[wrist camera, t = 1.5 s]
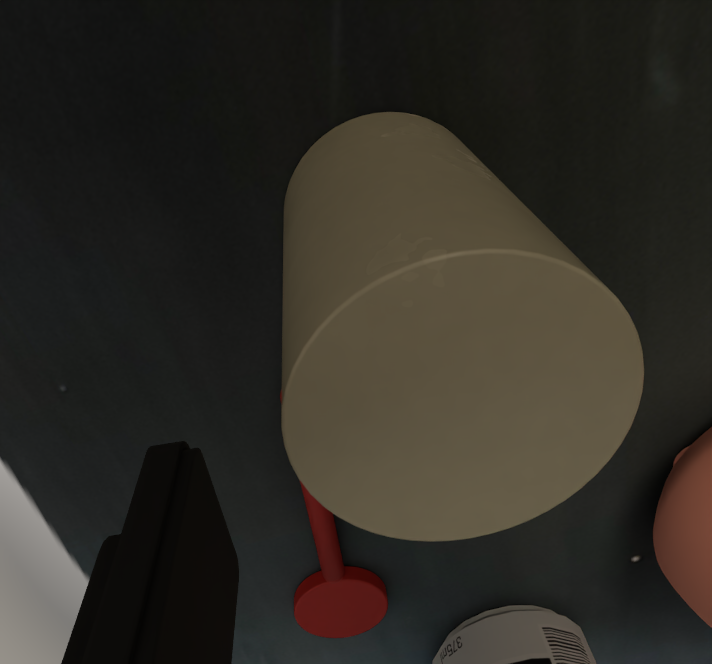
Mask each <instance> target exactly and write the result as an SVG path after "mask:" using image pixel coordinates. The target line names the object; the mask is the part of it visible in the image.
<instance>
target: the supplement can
mask: <svg viewBox="0 0 712 664" xmlns="http://www.w3.org/2000/svg"><path fill="white" fill-rule="evenodd" d="M432 664H596V661H595V659H594V657H593V655H592V652H591V650H590V648H589V646H588V643H587V641H586V639H585V637H584V634H583V632H582V630H581V628H580V627H579V626H578V625H577V624H575V623H574V622H573V621H571V620H570V619H568V618H567V617H566V616H562V615H558V614H556V613H555V612H554V611H552V610H550V609H546V608H542V607H538V606H534V605H515V606H506V607H501V608H497V609H493V610H488V611H485V612H483V613H481V614H479V615H476V616H474V617H472V618H470V619H468V620H466V621H464V622H463V623H462V624H460V625H459V626H458V627H457V628H456V629H454V630H453V631H452V632H451V633H449V635H448V636H447V638H446V640H445V641H444V643H443V645H442V646H441V648H440V649H439V651H438V653H437V654H436V656H435V658H434V659H433V661H432Z"/></svg>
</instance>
